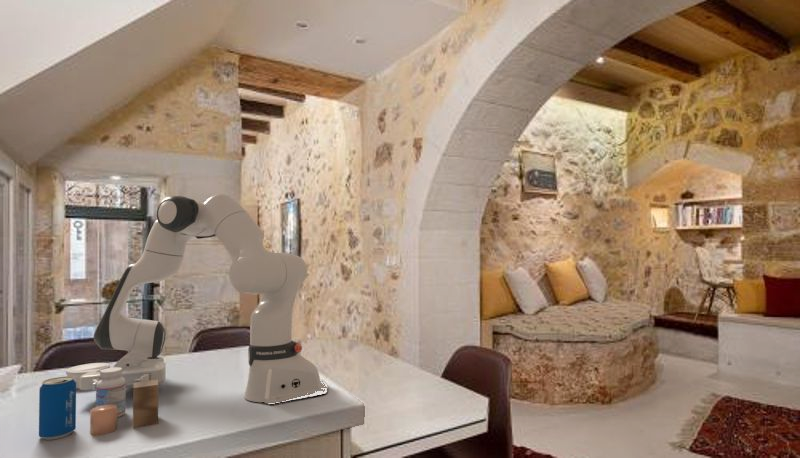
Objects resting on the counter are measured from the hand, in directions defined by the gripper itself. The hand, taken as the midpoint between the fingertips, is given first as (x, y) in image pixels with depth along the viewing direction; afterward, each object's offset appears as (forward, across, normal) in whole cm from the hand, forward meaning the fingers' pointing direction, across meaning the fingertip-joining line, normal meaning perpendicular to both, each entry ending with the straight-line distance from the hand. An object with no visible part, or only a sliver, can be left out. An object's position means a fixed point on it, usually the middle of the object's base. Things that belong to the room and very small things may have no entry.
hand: (117, 384), depth 117 cm
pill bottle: (+6, 0, +6) cm, 9 cm away
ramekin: (-28, -14, +6) cm, 32 cm away
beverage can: (+15, -8, +6) cm, 18 cm away
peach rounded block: (+16, +1, +6) cm, 17 cm away
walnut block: (+14, +9, +6) cm, 18 cm away
